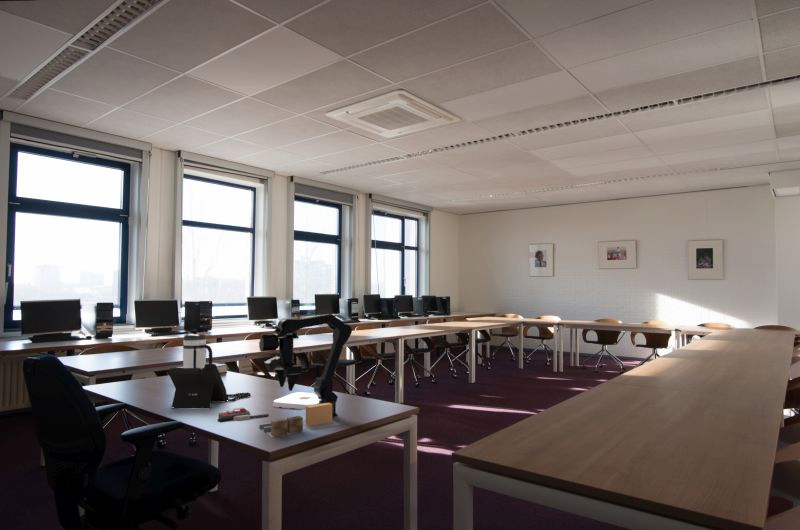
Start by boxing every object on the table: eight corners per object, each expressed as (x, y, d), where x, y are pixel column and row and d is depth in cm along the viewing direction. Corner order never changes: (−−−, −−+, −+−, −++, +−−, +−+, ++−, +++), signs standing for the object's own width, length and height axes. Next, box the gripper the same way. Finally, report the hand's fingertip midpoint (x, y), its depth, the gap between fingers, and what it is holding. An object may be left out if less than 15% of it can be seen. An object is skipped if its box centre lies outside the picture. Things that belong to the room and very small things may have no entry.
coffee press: (178, 384, 274) (179, 330, 275) (181, 379, 289) (182, 328, 290) (212, 382, 279) (212, 329, 281) (213, 377, 294) (213, 327, 296)
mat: (325, 418, 202) (325, 417, 202) (340, 425, 191) (340, 424, 191) (298, 423, 195) (298, 421, 195) (311, 431, 184) (311, 429, 184)
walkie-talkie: (218, 425, 194) (269, 418, 203) (218, 414, 194) (269, 408, 203) (215, 420, 202) (264, 414, 211) (215, 409, 202) (264, 403, 211)
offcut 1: (284, 431, 182) (284, 418, 182) (287, 433, 179) (287, 420, 179) (271, 434, 179) (271, 420, 179) (274, 436, 176) (274, 422, 177)
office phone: (253, 395, 247) (253, 355, 248) (230, 409, 219) (231, 364, 219) (196, 395, 248) (196, 355, 249) (166, 409, 220) (167, 363, 221)
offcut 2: (299, 429, 185) (299, 415, 185) (302, 431, 183) (302, 417, 183) (286, 431, 182) (286, 417, 182) (289, 433, 180) (289, 419, 180)
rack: (290, 423, 195) (290, 418, 195) (305, 432, 183) (305, 426, 183) (257, 428, 188) (258, 423, 188) (271, 438, 175) (271, 432, 175)
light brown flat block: (328, 420, 197) (328, 402, 197) (332, 421, 194) (332, 404, 195) (305, 424, 191) (305, 406, 192) (308, 426, 189) (308, 407, 189)
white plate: (313, 411, 215) (313, 405, 215) (270, 407, 222) (270, 401, 222) (336, 400, 236) (336, 394, 236) (295, 397, 243) (295, 391, 243)
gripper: (258, 349, 202) (258, 387, 201) (275, 354, 187) (274, 395, 186) (284, 347, 208) (284, 384, 208) (302, 351, 193) (302, 391, 192)
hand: (286, 388), depth 198 cm, fingers open, 9 cm apart
